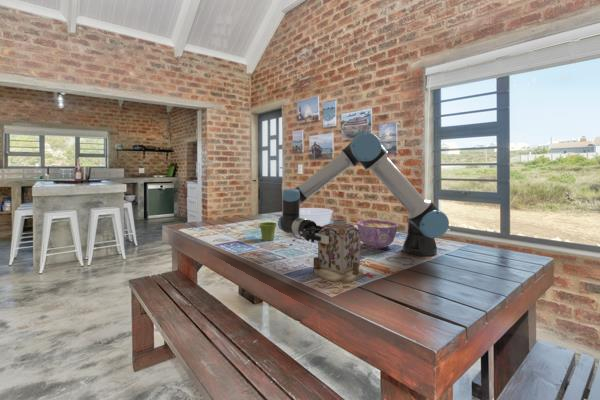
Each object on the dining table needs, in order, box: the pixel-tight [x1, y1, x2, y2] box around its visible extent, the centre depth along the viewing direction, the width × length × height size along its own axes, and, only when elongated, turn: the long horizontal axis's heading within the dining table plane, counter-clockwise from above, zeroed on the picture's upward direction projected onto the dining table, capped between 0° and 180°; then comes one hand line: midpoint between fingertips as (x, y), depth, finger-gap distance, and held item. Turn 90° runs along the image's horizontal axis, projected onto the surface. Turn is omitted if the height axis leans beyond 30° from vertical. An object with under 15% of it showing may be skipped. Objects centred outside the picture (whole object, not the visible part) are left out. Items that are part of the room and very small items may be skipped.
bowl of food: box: [356, 219, 399, 249], centre depth 159 cm, size 20×20×12 cm
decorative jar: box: [317, 218, 361, 274], centre depth 119 cm, size 12×12×18 cm
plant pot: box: [258, 221, 278, 242], centre depth 171 cm, size 9×9×9 cm
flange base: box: [312, 256, 364, 283], centre depth 120 cm, size 18×18×6 cm
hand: (341, 237), depth 118 cm, fingers open, 13 cm apart
